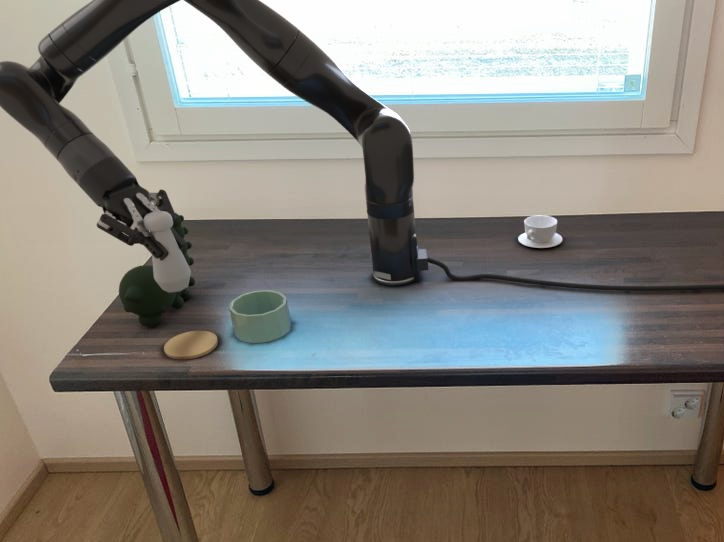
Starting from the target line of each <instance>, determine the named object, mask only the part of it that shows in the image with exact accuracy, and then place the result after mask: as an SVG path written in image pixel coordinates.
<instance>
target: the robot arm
mask: <svg viewBox="0 0 724 542" xmlns="http://www.w3.org/2000/svg"><path fill="white" fill-rule="evenodd" d="M180 1H181V0H91V1H90V2H88V3H87V4H85V5H84V6H82V7H81V8H79V9H78V10H77V11H75V12H74V13H73V14H71V15H69V16H68V17H67V18H66V19H64V21H62V22H61V23H60V24H58V25H57V26H56V27H55V28H53V29H52V30H51V31H49V33H47V34H46V35H45V36H44V37H43V38H41V40H40V41H39V42H38V45H37V51H38V53H39V55H40V56H39V57H38V58H37V60H36V61H35V62H34V63H33V64H32V65H31V66H30V67H29V66H26V65H24V64H22V63H19V62H17V61H10V60H3V61H0V108H1V109H2V110H3V111H4V112H5V113H7V114H8V115H9V116H10V117H11V118H12V119H14V120H15V121H16V122H17V123H19V125H21V126H22V127H23V128H24V129H25V130H27V131H28V132H29V133H31V134H32V136H34V137H35V138H36V139H38V141H39V142H40V143H41V145H43V146H44V148H45V149H46V150H47V151H48V152H49V153H50V154H51V155H52V157H53V158H54V159H55V160H56V161H58V163H59V164H60V165H61V166H62V168H63V169H64V171H65V172H66V174H67V175H68V176H69V177H70V179H72V180H73V181H74V182H75V184H76V185H77V186H78V187H79V188H80V189H81V190H82V191H83V192H84V193H85V194H86V195H87V196H88V198H89V199H91V201H92V202H93V203H94V204H95V205H96V206H97V207H99V208H102V209H101V210H102V212H103V213H102V214H101V215H100V217H99V219H98V221H97V222H96V227H97V228H98V229H99V230H101V231H103V232H105V233H106V234H109V235H110V236H112V237H113V238H115V239H117V240H119V241H121V242H122V243H124V244H126V245H127V246H130V247H132V246H134V245H135V244H139V245H141V246H143V247H144V248H145V249H146V250H147V251H148V252H149V253H150V254H151V256H152V255H153V256H154V257H155V258H157V259H158V258H160V260H161V261H162V260H164V259H165V258H166V257H167V256H168V255H169V252H168V251H167V249H166V248H165V247H164V246H163V245H162V244H161V243H160V242H159V241H157V240H156V239H155V237H154V236H150V235H151V234H150V231H148V230H147V229H146V228H145V226H144V220H143V219H144V217H145V216H146V215H147V214H148V213H151V212H156V211H165V212H168V213H169V214H170V215H171V216H172V219H173V222H174V221H175V220H176V218H177V217H176V215H175V213H176V212H175V210H174V207H173V206H172V205H173V204H172V203H171V201H170V198H169V195H168V192H167V191H165V190H164V189H159V190H158V192H149V190H148V189H146V188H144V187H142V186H141V185H140V184H139V182H138V179H137V177H136V175H134V173H132V171H131V170H130V169H129V168H128V166H127V165H125V163H123V161H122V160H121V159H120V158H119V157H118V156H117V155H116V154H115V153H114V151H112V149H110V147H109V146H108V145H107V144H105V142H103V141H102V139H100V138H99V137H97V136H96V134H95V133H94V132H93V131H92V130H91V129H90V128H89V127H88V125H86V124H85V122H84V121H82V119H81V118H80V117H79V116H78V115H77V114H75V112H74V111H72V110H70V109H69V108H67V107H65V106H63V105H62V104H61V102H62V101H63V100H64V99H65V97H66V96H67V95H68V93H69V92H70V91H71V89H72V88H73V87H74V85H75V84H76V82H77V81H78V80H79V78H80V77H82V76H83V75H84V74H86V73H87V72H88V71H90V70H91V69H92V68H93V67H95V66H96V65H97V64H99V63H100V62H101V61H102V60H104V59H105V58H106V57H107V56H108V55H109V54H111V53H112V52H113V51H114V50H115V49H116V48H117V47H118V46H119V45H120V44H122V42H123V41H124V40H126V38H128V37H129V36H130V35H131V34H132V33H133V32H134V31H135V30H137V29H138V28H139V27H140V26H141V25H143V24H144V23H145V22H147V21H148V20H149V19H151V18H153V17H154V16H155V15H157V14H158V13H160V12H161V11H163V10H166V9H167V8H169V7H171V6H173V5H174V4H176V3H178V2H180ZM183 1H184V2H185V3H186V4H188V5H190V6H191V7H193V8H194V9H195V10H196V11H198V12H200V13H201V14H202V15H204V16H205V17H207V18H208V19H209V20H211V21H212V22H213V23H215V24H216V26H218V27H219V28H220V29H222V31H224V33H225V34H226V35H227V36H228V37H229V38H230V39H231V40H232V41H233V42H234V43H235V45H236V46H237V47H238V48H239V49H240V50H241V51H242V52H243V53H244V54H245V55H246V56H247V57H248V58H249V59H250V60H251V61H252V62H253V63H254V64H256V66H257V67H258V68H260V69H261V70H262V71H263V72H264V73H266V74H267V75H268V76H269V77H270V78H272V79H273V80H274V81H275V82H277V83H278V84H279V85H281V86H282V87H283V88H284V89H286V90H287V91H289V92H291V93H292V94H293V95H295V96H296V97H298V98H300V99H301V100H303V101H305V102H306V103H308V104H310V105H311V106H314V107H316V108H317V109H319V110H321V111H322V112H324V113H326V114H327V115H329V116H330V117H331V118H332V119H334V120H335V121H336V122H337V123H338V124H339V125H340V126H341V127H342V128H344V129H345V131H347V132H348V133H349V134H350V135H351V136H352V137H353V139H354V140H355V141H356V142H357V143H358V144H359V145H360V147H361V148H362V156H363V165H364V174H365V175H364V177H365V180H364V181H365V183H364V193H365V194H364V195H365V203H366V204H365V205H366V213H367V224H368V233H369V234H368V235H369V243H370V252H371V253H370V254H371V262H372V276H373V277H372V278H373V280H374V282H376V283H377V284H379V285H383V286H390V287H391V286H392V287H397V286H398V287H399V286H405V285H407V284H410V283H413V282H419V281H420V272H423V271H429V264H431V265H435V266H438V267H439V268H440V269H442V270H443V271H444V273H445V275H446V277H448V278H449V279H451V280H454V281H457V282H458V281H459V282H460V281H461V282H462V281H463V282H464V281H475V280H482V279H483V280H484V279H485V280H486V279H488V280H499V281H507V282H511V283H513V282H514V283H519V284H528V285H538V286H547V287H556V288H566V289H577V290H578V289H579V290H595V291H616V292H617V291H620V292H621V291H622V292H656V291H657V292H658V291H659V292H660V291H661V292H664V291H665V292H667V291H670V292H671V291H702V290H703V291H704V290H705V291H707V290H724V283H718V284H717V283H716V284H715V283H714V284H713V283H712V284H682V285H679V284H678V285H677V284H675V285H614V284H613V285H612V284H609V285H608V284H591V283H589V284H588V283H577V282H576V283H574V282H563V281H554V280H553V281H552V280H543V279H534V278H527V277H526V278H525V277H517V276H511V275H504V274H496V273H495V274H494V273H477V274H472V275H466V276H465V275H464V276H461V275H456V274H453V273H452V272H451V270H450V268H449V267H448V266H447V265H446V264H445V263H444V262H442V261H440V260H437V259H434V258H432V257H429V256H428V252H427V249H426V248H418V239H417V238H418V237H417V231H416V219H415V218H416V217H415V203H414V184H415V169H414V168H415V167H414V165H415V164H414V147H413V138H412V133H411V131H410V128H409V127H408V125H407V124H406V122H405V121H404V120H403V119H402V117H400V115H399V114H398V113H397V112H395V111H393V110H392V109H390V108H389V107H387V106H386V105H384V104H383V103H381V102H380V101H378V100H377V99H376V98H374V97H373V96H371V95H370V94H368V93H367V92H366V91H364V90H363V89H362V88H360V86H358V85H357V84H355V83H354V81H352V80H351V79H350V78H349V77H348V75H346V74H345V72H344V71H343V70H342V69H341V68H340V67H339V66H338V65H337V64H336V62H334V60H332V59H331V57H330V56H329V55H327V53H326V52H324V50H322V49H321V47H319V46H318V44H316V43H315V41H313V40H312V39H311V38H309V37H308V36H307V35H306V34H305V33H304V32H303V31H302V30H300V29H299V28H298V27H297V26H295V25H294V24H293V23H291V22H290V21H289V20H288V19H286V18H285V17H284V16H283V15H281V14H280V13H278V12H277V11H275V10H274V9H273V8H272V7H270V6H269V5H267V4H265V3H264V2H262V1H261V0H183ZM170 229H171V231H172V233H173V235H174V238H175V240H176V242H177V244H178V246H179V249H180V250H182V249H183V248H184V246H185V244H184V240H185V239H184V240H183V238H182V237H180V235H179V234H178V233H177V232H176V231H175V230H174V229H173V227H171V228H170Z"/></svg>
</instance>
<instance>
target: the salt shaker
mask: <svg viewBox="0 0 724 542" xmlns="http://www.w3.org/2000/svg"><path fill="white" fill-rule="evenodd" d="M143 220H144V226H145V228H146V229H147V230H148V231H149V232H150V234H151V235H150V236H154V237H155V239H156V240H157V241H159V242H160V243H161V244H162V245H163V246H164V247H165V248H166V249H167V251H168V252H169V255H168V256H167V257H166V258H165V259H164V260H162V261H161V260H160V258H158V259H157V258H155V257H154V256H153V255H152V254H151V260H152V266H153V273H154V279H155V281H156V282H157V283H158V284H159V286H160V287H161V288H162V289H163V290H164V291H167V292H178V291H182V290H183V289H185V288H187V289H188V287H189V286H188V285H189V280H190V276H191V275H192V270H191V268H190V266H188V264H187V262H186V260H185V258H184V256H183V254H182V252H181V250H180V249H179V246H178V244H177V242H176V240H175V238H174V235H173V233H172V231H171V229H170V228H171V227H172V226H173V219H172V216H171V215H170V214H169V213H168V212H165V211H156V212H151V213H148V214H147V215H146V216H145V217H144V219H143Z"/></svg>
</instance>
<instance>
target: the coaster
mask: <svg viewBox="0 0 724 542" xmlns="http://www.w3.org/2000/svg"><path fill="white" fill-rule="evenodd" d="M218 343H219V340H218V336H217V335H216V334H215V333H213V332H212V331H208V330H190V331H185V332H182V333H179V334H177V335H175V336H173V337H171V338H170V339H168V341H166V342H165V344H164V346H163V351H164V354H165V356H167V357H169V358H170V359H173V360H182V361H183V360H192V359H196V358H200V357H203V356H205V355H208V354H209V353H211V352H212V351H214V350H215V349H216V348H217V346H218Z"/></svg>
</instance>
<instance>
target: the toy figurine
mask: <svg viewBox="0 0 724 542" xmlns="http://www.w3.org/2000/svg"><path fill="white" fill-rule="evenodd" d="M175 215H176V217H177V218H176V220H175V221H174V222H173V226H172V227H173V229H174V230H175V231H176V232H177V233H178V234H179V235H180V237H182V238H183V240H184V244H185V246H184V248H183V249H182V250H181V252H182V254H183V256H184V258H185V260H186V262H187V264H188V266H189V267H190V266H193V265H194V263H195V260H194V258H193V257H191V256H189V254H188V253H187V252H188V250H190V249H192V247H193V244H192V242H190V241H186V240H185V235H187V234H189V229H188V228H187V227H185V226H182V222H184V221H185V217H184V216H183V215H182V214H179V213H177V212H175ZM195 284H196V279H195V277H193V276H191V275H190V280H189V285H188V287H189V288H190V287H194V285H195ZM188 287H187V288H185V289H183V290H182V291H178V292H167V291H164V290H163V289H162V288H161V287H160V286H159V284H158V283H157V282H156V281H155V279H154V273H153V265H151V264H149V265H148V264H145V265H144V264H143V265H138V266H135V267H133V268H131V269H129V270H128V271H127V272H125V273H124V275H123V276H122V277H121V280H120V282H119V285H118V296H119V299H120V302H121V304H122V305H123V309H124V311H125V312H126V313H131V314H134V315H135V316H138V318H137V319H138V320H137V321H138V322H139V324H140V325H142V326H143V327H146V328H154V327H155V328H156V327H158V326H161V324H162V323H163V321H164V316H163V314H164V313H166V312H167V311H169V309H170V308H172V309H175V310H180V309H181V308H182V307H183V306H184V303H185V301H188V300H189V299H191V297H192V292H191V291H190V290H189V289H188Z"/></svg>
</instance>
